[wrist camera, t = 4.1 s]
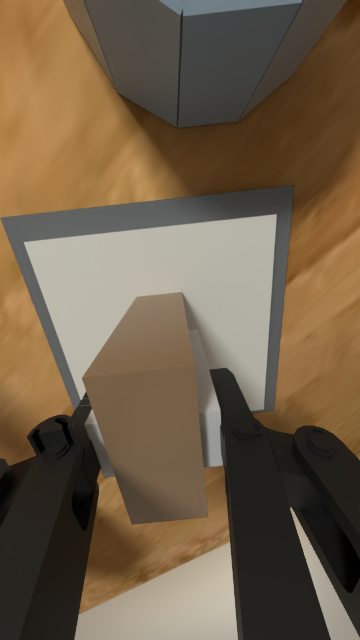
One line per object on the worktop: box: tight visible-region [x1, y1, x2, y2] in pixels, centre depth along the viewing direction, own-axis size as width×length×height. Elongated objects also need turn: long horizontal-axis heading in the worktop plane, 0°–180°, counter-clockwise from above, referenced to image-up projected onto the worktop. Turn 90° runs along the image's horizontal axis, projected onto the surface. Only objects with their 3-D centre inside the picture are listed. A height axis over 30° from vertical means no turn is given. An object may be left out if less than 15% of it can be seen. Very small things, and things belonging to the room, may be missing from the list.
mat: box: [1, 185, 294, 413], centre depth 16 cm, size 18×18×1 cm
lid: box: [24, 214, 277, 524], centre depth 11 cm, size 15×15×10 cm
